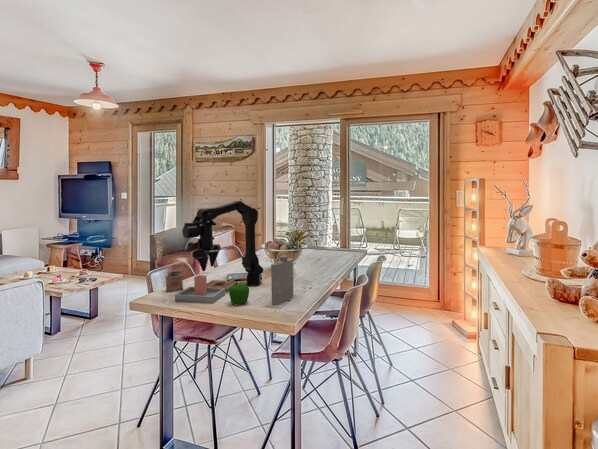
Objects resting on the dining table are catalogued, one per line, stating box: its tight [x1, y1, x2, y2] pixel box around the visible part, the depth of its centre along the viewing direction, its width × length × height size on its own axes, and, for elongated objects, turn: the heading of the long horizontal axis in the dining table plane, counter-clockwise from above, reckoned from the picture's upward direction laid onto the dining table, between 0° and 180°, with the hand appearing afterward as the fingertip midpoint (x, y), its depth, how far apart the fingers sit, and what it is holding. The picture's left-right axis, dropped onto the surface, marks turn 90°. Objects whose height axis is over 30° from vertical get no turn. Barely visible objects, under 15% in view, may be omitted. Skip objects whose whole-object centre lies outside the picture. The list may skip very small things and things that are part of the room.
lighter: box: [165, 269, 184, 293], centre depth 176 cm, size 8×3×10 cm, turn 118°
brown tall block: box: [193, 274, 208, 296], centre depth 164 cm, size 4×4×9 cm
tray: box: [174, 286, 226, 305], centre depth 165 cm, size 18×14×3 cm
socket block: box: [207, 279, 239, 294], centre depth 181 cm, size 14×14×2 cm
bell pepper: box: [228, 280, 250, 306], centre depth 156 cm, size 8×8×10 cm
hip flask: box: [270, 254, 294, 306], centre depth 160 cm, size 16×4×20 cm, turn 152°
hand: (208, 268), depth 168 cm, fingers open, 9 cm apart
